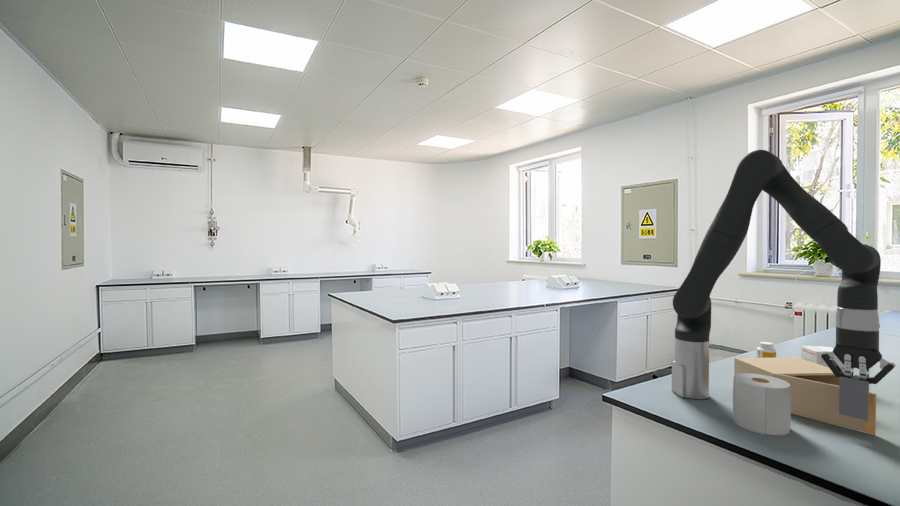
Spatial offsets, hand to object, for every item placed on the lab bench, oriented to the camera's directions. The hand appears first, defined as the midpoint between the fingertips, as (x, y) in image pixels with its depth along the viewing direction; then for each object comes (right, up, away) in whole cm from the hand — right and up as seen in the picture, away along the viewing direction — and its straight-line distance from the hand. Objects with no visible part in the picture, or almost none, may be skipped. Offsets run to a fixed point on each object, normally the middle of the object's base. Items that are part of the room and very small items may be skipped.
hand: (856, 397), depth 102 cm
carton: (+2, -8, +24) cm, 25 cm away
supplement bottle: (+16, -8, +50) cm, 53 cm away
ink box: (+24, -8, +36) cm, 44 cm away
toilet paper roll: (-19, -9, +6) cm, 22 cm away
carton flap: (-4, -9, +6) cm, 11 cm away
